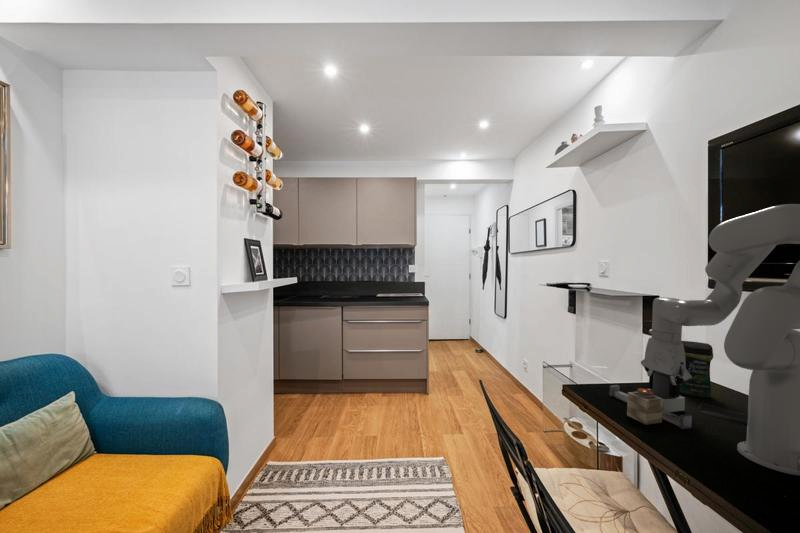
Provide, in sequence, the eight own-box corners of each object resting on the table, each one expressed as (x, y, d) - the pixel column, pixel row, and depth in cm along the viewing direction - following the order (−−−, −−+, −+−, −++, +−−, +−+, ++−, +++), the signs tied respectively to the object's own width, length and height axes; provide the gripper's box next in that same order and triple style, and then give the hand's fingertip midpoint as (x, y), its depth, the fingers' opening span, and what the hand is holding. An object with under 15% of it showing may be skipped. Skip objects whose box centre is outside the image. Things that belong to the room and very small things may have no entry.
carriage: (684, 410, 108) (684, 397, 108) (652, 414, 104) (652, 401, 104) (657, 399, 116) (658, 387, 116) (627, 403, 112) (627, 391, 112)
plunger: (655, 409, 101) (656, 392, 101) (645, 410, 100) (646, 393, 100) (643, 404, 104) (643, 387, 104) (633, 405, 103) (634, 388, 103)
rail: (691, 427, 97) (691, 415, 97) (683, 429, 96) (683, 416, 96) (616, 394, 120) (617, 384, 120) (609, 395, 119) (609, 385, 119)
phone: (767, 427, 97) (697, 409, 108) (766, 431, 97) (697, 412, 108) (767, 418, 102) (700, 402, 113) (766, 422, 102) (700, 405, 113)
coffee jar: (678, 394, 122) (680, 342, 121) (673, 387, 128) (675, 338, 128) (714, 400, 117) (716, 346, 116) (707, 392, 124) (709, 341, 123)
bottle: (666, 404, 113) (668, 359, 112) (679, 412, 107) (681, 364, 106) (647, 403, 113) (649, 358, 113) (659, 411, 107) (661, 363, 107)
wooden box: (661, 422, 100) (662, 398, 100) (645, 424, 98) (646, 400, 98) (642, 413, 106) (643, 390, 106) (626, 415, 104) (627, 392, 104)
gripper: (632, 331, 117) (629, 383, 117) (686, 344, 100) (683, 405, 101) (648, 330, 119) (646, 382, 119) (705, 342, 102) (702, 402, 103)
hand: (663, 392), depth 110 cm, fingers closed on bottle, 5 cm apart
